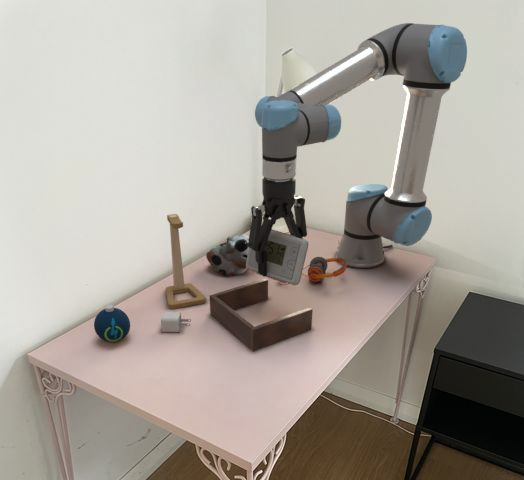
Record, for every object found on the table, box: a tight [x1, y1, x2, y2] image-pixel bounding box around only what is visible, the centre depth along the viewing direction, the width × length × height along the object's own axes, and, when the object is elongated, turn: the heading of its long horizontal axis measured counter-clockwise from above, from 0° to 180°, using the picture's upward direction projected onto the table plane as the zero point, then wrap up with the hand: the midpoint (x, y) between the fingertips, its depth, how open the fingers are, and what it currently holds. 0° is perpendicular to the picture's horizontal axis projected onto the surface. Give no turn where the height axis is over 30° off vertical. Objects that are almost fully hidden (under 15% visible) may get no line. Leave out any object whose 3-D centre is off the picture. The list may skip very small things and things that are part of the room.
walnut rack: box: [208, 277, 314, 352], centre depth 138 cm, size 18×20×6 cm
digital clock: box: [246, 228, 309, 286], centre depth 131 cm, size 16×9×11 cm, turn 42°
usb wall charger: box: [160, 311, 192, 333], centre depth 135 cm, size 4×7×4 cm, turn 88°
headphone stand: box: [165, 213, 207, 310], centre depth 144 cm, size 10×11×22 cm
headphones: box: [278, 256, 348, 286], centre depth 160 cm, size 17×5×20 cm
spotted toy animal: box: [205, 234, 249, 277], centre depth 162 cm, size 15×12×14 cm
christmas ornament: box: [93, 304, 131, 343], centre depth 129 cm, size 8×8×10 cm
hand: (277, 269), depth 133 cm, fingers closed on digital clock, 8 cm apart
